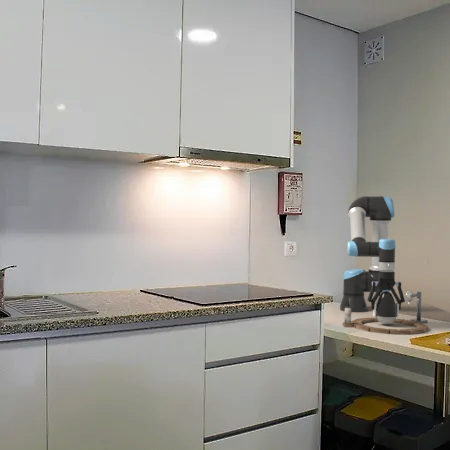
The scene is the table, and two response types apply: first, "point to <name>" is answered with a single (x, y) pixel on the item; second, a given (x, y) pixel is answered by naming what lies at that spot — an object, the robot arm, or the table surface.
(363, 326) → the turntable ring
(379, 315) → the pump dispenser
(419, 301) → the dial indicator stand
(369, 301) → the robot arm
